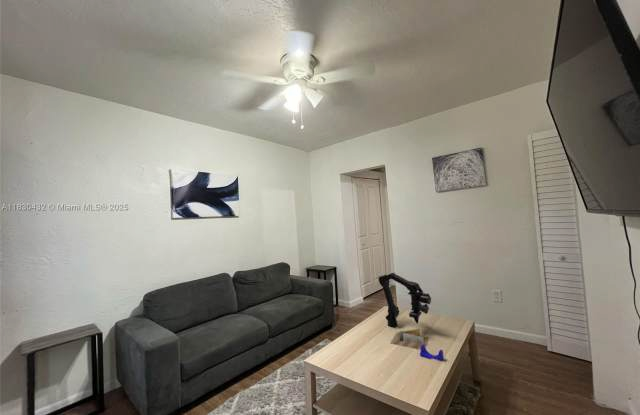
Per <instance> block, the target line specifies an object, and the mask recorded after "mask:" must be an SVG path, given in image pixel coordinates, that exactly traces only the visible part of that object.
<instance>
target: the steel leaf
mask: <svg viewBox="0 0 640 415" xmlns="http://www.w3.org/2000/svg"><path fill="white" fill-rule="evenodd" d="M402 331H403V330H399V331H398V332H399V333H400V341H405V342H410V343H415V344H420V345H424V341H423V337H424V336H421V335H420V336H417V335H411V334H405V333H403V332H402Z"/></svg>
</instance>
